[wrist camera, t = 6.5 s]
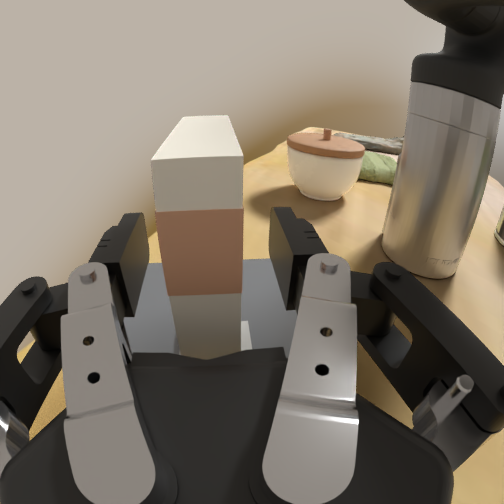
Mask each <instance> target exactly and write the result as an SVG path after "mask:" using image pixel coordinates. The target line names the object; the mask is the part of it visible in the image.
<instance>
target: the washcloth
mask: <svg viewBox="0 0 504 504" xmlns="http://www.w3.org/2000/svg"><path fill="white" fill-rule="evenodd" d="M396 166H397V162H396V161H395V160H394V159H393V158H391V157H389V156H385V155H381V154H377V153H374V152H368V151H365V154H364V156H363V161H362V167H361V171H360V174H359V177H358V179H360V180H367V181H372V182H381V183H387V184H389V185H393V182H394V177H395V172H396Z"/></svg>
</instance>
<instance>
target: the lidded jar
mask: <svg viewBox="0 0 504 504" xmlns="http://www.w3.org/2000/svg"><path fill="white" fill-rule="evenodd" d="M331 131H332V130H331V129H324V134H318V133H297V134H292V135H290V136H288V138H287V145H288V148H287V163H288V169H289V173H290V176H291V178H292V180H293V182H294V183H295V185H296V186H297V187H298V188H299V189H300V192H301V193H302V194H303V195H304V196H306V197H309V198H312V199H315V200H321V201H334V200H338V199H340V198H341V196H342V195H344V194H345V193H347V192H348V191H349V190H350V189H351V188H352V187H353V186H354V184H355V183H356V181H357V179H358V177H359V174H360V171H361V167H362V161H363V156H364V154H365V147H364V146H363V145H362V144H360V143H358V142H356V141H353V140H350V139H346V138H342V137H338V136H333V135H331Z"/></svg>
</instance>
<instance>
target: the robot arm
mask: <svg viewBox="0 0 504 504" xmlns="http://www.w3.org/2000/svg"><path fill="white" fill-rule="evenodd" d="M404 1H405V2H406V3H408V4H409V5H410V6H412V7H413V8H414V9H416V10H417V11H419V12H420V13H422V14H424V15H425V16H427V17H429V18H431V19H433V20H435V21H437V22H439V23H442V24H443V25H445V26H446V33H445V42H444V47H443V50H442V51H440V52H438V53H427V54H420V55H417V56H416V57H415V58H414V60H413V63H412V73H411V81H412V82H411V87H410V97H409V106H408V114H407V122H406V129H405V135H404V141H403V148H402V153H400V154H399V156H398V161H397V166H396V172H395V177H394V182H393V187H392V191H391V196H390V201H389V205H388V209H387V214H386V218H385V222H384V226H383V230H382V232H383V234H384V235H383V238H382V248H383V250H384V252H385V253H386V255H387V256H388V257H389V258H390V259H391V260H392V261H394V262H395V263H396V264H395V263H390V262H381V263H378V264H376V265H375V266H374V269H373V272H372V274H366V273H359V272H353V271H350V266H349V264H348V262H347V261H346V260H344V259H343V258H341V257H339V256H337V255H334V254H329V252H328V251H327V249H326V247H325V246H324V244H323V242H322V241H321V239H320V238H319V236H318V234H317V233H316V231H315V229H314V227H313V226H312V224H310V223H309V222H308V221H306V220H305V219H297V218H296V216H295V214H294V213H293V211H292V209H291V207H272V208H271V215H270V230H269V255H270V259H271V262H272V265H273V268H274V272H275V275H276V278H277V282H278V285H279V289H280V292H281V295H282V299H283V302H284V305H285V309H286V311H288V310H296V313H297V320H296V325H295V330H294V335H293V339H292V344H291V349H290V353H289V358H286V355H285V351H284V347H273V348H261V349H248V350H243V351H239V352H236V353H232V354H228V355H224V356H221V357H217V358H213V359H199V358H194V357H188V356H183V355H178V354H173V353H147V352H132V349H131V345H130V341H129V337H128V333H127V330H126V327H125V324H124V317H135V313H136V309H137V305H138V301H139V297H140V293H141V289H142V285H143V281H144V277H145V273H146V270H147V266H148V262H149V244H148V238H147V232H146V226H145V219H144V215H143V213H128V214H124V215H123V217H122V219H121V221H120V223H119V224H118V226H112V227H111V228H110V229H109V230H107V231H106V232H105V233H104V235H103V237H102V238H101V241H100V242H99V244H98V245H97V248H96V249H95V251H94V253H93V254H92V256H91V258H90V260H89V262H88V263H86V264H84V265H81V266H79V267H77V268H76V269H75V270H74V271H72V272H71V274H70V276H69V279H68V283H65V284H61V285H58V286H54V287H50V288H49V287H48V284H47V282H46V280H45V279H44V278H43V277H31V278H28V279H26V280H25V281H23V282H21V283H20V284H19V285H18V286H17V287H16V288H15V289H14V290H13V291H12V293H11V294H10V295H9V296H8V297H7V298H6V300H5V301H4V302H3V303H2V304H1V305H0V503H1V504H451V500H452V494H453V487H454V476H453V471H455V470H456V469H457V468H458V467H459V466H460V465H461V464H462V463H463V462H464V461H466V460H467V459H468V458H469V457H470V456H471V455H472V454H473V453H474V452H475V451H476V450H477V449H478V448H480V447H481V446H482V445H484V444H485V443H486V442H487V441H489V440H490V439H491V438H493V437H494V436H495V435H496V434H497V433H499V432H500V431H501V430H502V429H503V428H504V366H503V365H502V363H501V362H500V361H499V360H498V359H497V358H496V357H495V356H494V355H493V354H492V352H491V351H490V350H489V349H488V348H487V347H486V346H485V345H484V344H483V343H482V342H481V341H480V340H479V339H478V338H477V337H476V336H475V335H474V333H473V332H472V331H471V330H470V329H469V328H468V327H467V326H466V325H465V324H464V323H463V322H462V321H461V320H460V319H459V318H458V317H457V316H456V315H455V314H454V313H453V312H452V311H450V310H449V309H448V308H447V307H446V306H445V305H444V304H443V303H442V302H441V301H440V300H439V299H438V298H437V297H436V296H435V295H434V294H433V293H432V292H430V291H429V290H428V289H427V288H426V287H425V286H424V285H423V284H422V283H421V282H420V281H418V280H417V279H416V278H415V277H414V276H413V275H412V274H411V273H410V272H412V273H414V274H417V275H420V276H423V277H428V278H436V279H441V278H447V277H450V276H452V275H453V274H454V273H455V271H456V269H457V267H458V265H459V262H460V260H461V257H462V255H463V252H464V250H465V247H466V245H467V242H468V239H469V237H470V234H471V231H472V229H473V226H474V223H475V220H476V217H477V214H478V210H479V207H480V204H481V201H482V197H483V194H484V190H485V186H486V183H487V179H488V175H489V171H490V167H491V162H492V158H493V153H494V148H495V143H496V137H497V132H498V125H499V119H500V112H501V110H500V109H501V104H502V97H503V94H504V0H404ZM407 270H408V271H410V272H408V271H407ZM396 316H397V317H398V318H399V319H400V320H401V321H402V322H403V323H404V324H405V325H406V327H407V328H408V329H409V330H410V332H411V334H412V338H413V341H412V345H411V343H410V342H409V341H408V340H407V339H406V338H405V337H404V335H403V334H402V333H401V332H400V331H399V330H398V329H397V328H396V326H395V325H394V324H393V323H394V321H395V319H396ZM29 331H30V332H31V333H32V335H33V337H34V339H35V340H36V341H35V343H34V344H33V345H32V347H31V349H30V350H29V352H28V353H27V355H26V356H25V358H24V359H23V361H22V362H21V364H20V363H19V361H18V359H17V349H18V347H19V345H20V344H21V342H22V341H23V339H24V338H25V336H26V335H27V334H28V332H29ZM357 340H358V341H359V342H360V343H361V345H362V346H363V347H364V349H365V350H366V351H367V352H368V354H369V355H370V356H371V358H372V359H373V360H374V362H375V363H376V364H377V366H378V367H379V368H380V369H381V371H382V372H383V373H384V375H385V376H386V377H387V379H388V380H389V381H390V383H391V384H392V385H393V387H394V388H395V389H396V391H397V392H398V393H399V395H400V396H401V397H402V399H403V400H404V401H405V403H406V404H407V406H408V407H409V408H410V410H411V411H412V412H413V416H412V421H413V425H414V427H413V430H412V429H410V428H409V427H407V426H405V425H404V424H402V423H401V422H399V421H398V420H396V419H395V418H393V417H392V416H390V415H389V414H387V413H386V412H384V411H383V410H381V409H380V408H378V407H377V406H375V405H374V404H372V403H371V402H369V401H368V400H366V399H365V398H363V397H362V396H360V395H359V394H357V393H356V373H357ZM61 369H63V381H64V391H65V400H66V408H65V409H64V410H63V411H62V412H61V413H60V414H58V415H57V416H56V417H55V418H54V419H53V420H52V421H51V422H50V423H49V424H48V425H47V426H45V427H44V428H43V429H42V430H41V431H40V432H39V433H38V434H37V435H36V436H35V437H34V438H33V439H31V440H30V441H29V430H30V428H31V426H32V424H33V422H34V420H35V418H36V416H37V414H38V412H39V410H40V408H41V406H42V404H43V402H44V400H45V398H46V396H47V394H48V392H49V391H50V389H51V387H52V385H53V383H54V381H55V380H56V378H57V376H58V374H59V372H60V371H61Z"/></svg>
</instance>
